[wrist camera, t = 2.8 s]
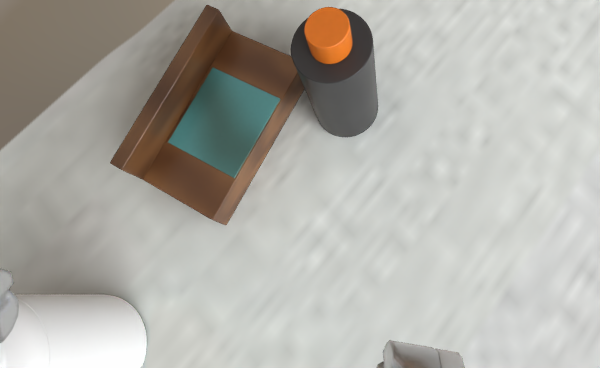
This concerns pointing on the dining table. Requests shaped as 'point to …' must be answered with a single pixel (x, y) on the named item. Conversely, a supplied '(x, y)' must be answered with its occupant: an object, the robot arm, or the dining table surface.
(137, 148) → the brown tray
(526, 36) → the dining table surface
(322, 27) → the bottle
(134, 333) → the pill bottle
